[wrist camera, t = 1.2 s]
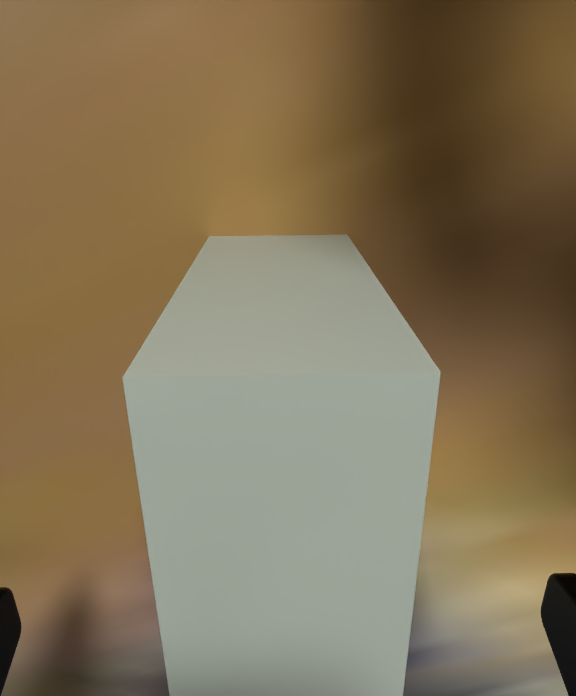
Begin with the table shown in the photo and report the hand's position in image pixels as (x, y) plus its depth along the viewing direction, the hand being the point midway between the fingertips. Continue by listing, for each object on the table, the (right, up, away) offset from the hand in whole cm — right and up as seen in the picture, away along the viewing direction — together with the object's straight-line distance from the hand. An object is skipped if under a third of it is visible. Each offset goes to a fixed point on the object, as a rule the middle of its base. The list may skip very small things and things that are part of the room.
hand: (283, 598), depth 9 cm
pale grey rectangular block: (0, +2, +5) cm, 5 cm away
